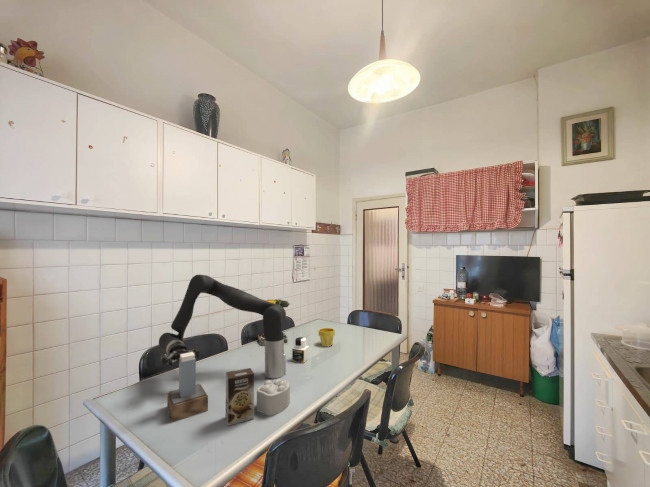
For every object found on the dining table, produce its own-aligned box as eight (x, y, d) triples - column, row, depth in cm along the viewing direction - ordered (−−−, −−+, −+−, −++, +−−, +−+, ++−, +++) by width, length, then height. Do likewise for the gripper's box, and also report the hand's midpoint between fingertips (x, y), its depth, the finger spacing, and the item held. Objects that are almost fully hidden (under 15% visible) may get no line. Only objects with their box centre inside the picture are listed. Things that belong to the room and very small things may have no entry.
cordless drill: (261, 347, 176) (261, 302, 177) (256, 338, 194) (256, 298, 195) (290, 343, 184) (289, 300, 185) (282, 335, 201) (282, 296, 202)
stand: (200, 397, 115) (200, 382, 115) (207, 410, 106) (207, 394, 106) (167, 407, 108) (167, 391, 108) (172, 422, 99) (172, 404, 99)
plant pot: (316, 343, 182) (316, 328, 183) (331, 341, 185) (331, 327, 186) (321, 348, 172) (321, 332, 173) (337, 346, 175) (336, 331, 176)
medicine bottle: (292, 361, 153) (292, 339, 153) (298, 356, 159) (298, 335, 160) (303, 363, 150) (303, 340, 150) (309, 358, 157) (309, 336, 157)
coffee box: (227, 426, 96) (227, 378, 96) (225, 416, 101) (225, 371, 102) (254, 419, 100) (254, 373, 100) (250, 410, 106) (250, 366, 106)
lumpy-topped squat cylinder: (253, 408, 107) (253, 385, 107) (278, 394, 117) (278, 373, 118) (271, 417, 101) (271, 393, 101) (296, 402, 111) (296, 380, 111)
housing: (193, 388, 111) (193, 351, 111) (195, 393, 107) (195, 355, 107) (178, 392, 108) (179, 354, 108) (181, 397, 104) (181, 358, 104)
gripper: (158, 345, 123) (163, 355, 110) (193, 338, 131) (202, 348, 118) (158, 362, 123) (163, 375, 110) (193, 354, 131) (201, 366, 118)
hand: (183, 361), depth 114 cm, fingers open, 8 cm apart
